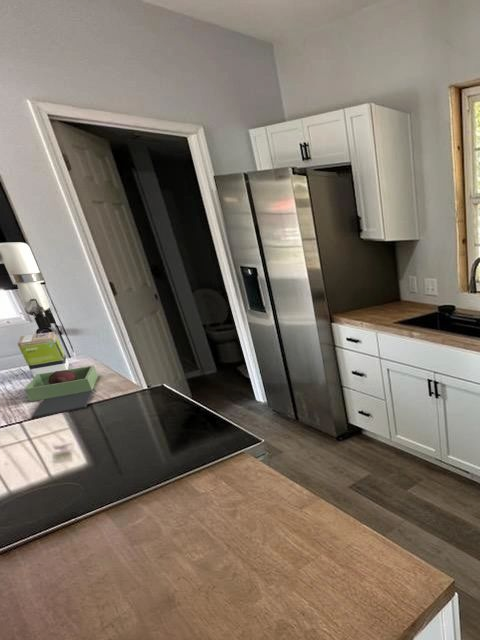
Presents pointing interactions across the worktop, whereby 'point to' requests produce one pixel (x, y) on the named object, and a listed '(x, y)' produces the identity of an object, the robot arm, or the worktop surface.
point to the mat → (62, 404)
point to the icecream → (62, 377)
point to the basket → (61, 384)
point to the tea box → (43, 353)
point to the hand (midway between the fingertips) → (47, 325)
